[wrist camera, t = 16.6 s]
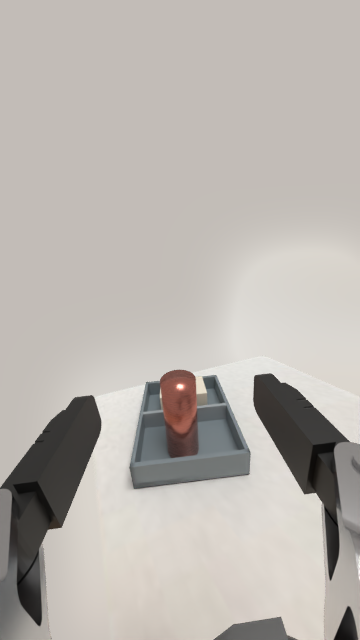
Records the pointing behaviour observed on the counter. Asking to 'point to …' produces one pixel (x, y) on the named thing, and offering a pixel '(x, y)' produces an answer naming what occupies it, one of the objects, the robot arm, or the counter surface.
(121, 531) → the counter surface
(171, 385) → the copper cylinder
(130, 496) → the counter surface
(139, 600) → the counter surface
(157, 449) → the tray
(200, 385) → the cream block
